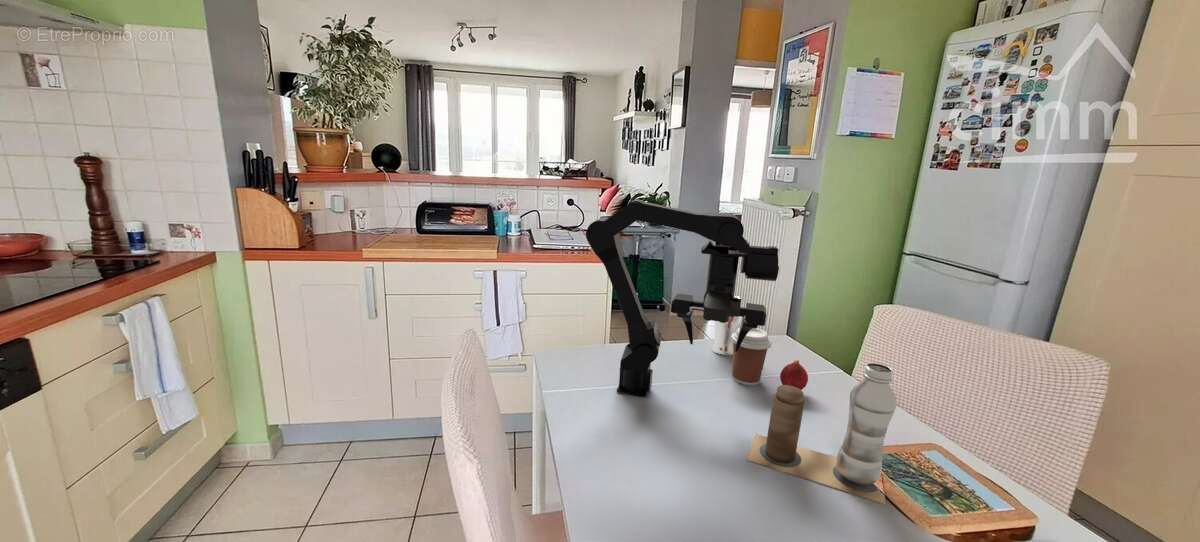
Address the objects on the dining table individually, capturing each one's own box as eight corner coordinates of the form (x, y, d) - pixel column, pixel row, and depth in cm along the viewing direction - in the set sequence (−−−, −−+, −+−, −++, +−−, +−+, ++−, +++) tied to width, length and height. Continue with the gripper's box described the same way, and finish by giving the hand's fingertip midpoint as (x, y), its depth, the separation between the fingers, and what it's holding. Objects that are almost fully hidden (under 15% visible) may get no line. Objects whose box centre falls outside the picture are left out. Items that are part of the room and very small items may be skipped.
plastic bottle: (826, 465, 81) (846, 358, 76) (862, 465, 82) (885, 359, 77) (848, 491, 75) (871, 377, 70) (887, 491, 76) (914, 377, 71)
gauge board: (746, 460, 82) (746, 459, 82) (755, 434, 90) (755, 433, 90) (885, 504, 73) (885, 503, 73) (881, 471, 81) (881, 470, 81)
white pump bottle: (737, 348, 130) (743, 296, 126) (735, 358, 124) (742, 304, 120) (711, 344, 132) (717, 293, 128) (708, 353, 126) (714, 300, 122)
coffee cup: (773, 387, 109) (780, 339, 106) (736, 388, 107) (742, 339, 104) (754, 369, 117) (761, 324, 114) (720, 370, 116) (725, 325, 113)
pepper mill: (772, 463, 81) (783, 398, 78) (760, 446, 86) (769, 383, 83) (800, 463, 81) (811, 398, 78) (786, 445, 86) (796, 383, 83)
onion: (807, 400, 103) (813, 367, 101) (780, 397, 104) (785, 363, 103) (802, 388, 109) (807, 356, 107) (776, 384, 110) (781, 353, 108)
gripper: (669, 279, 91) (662, 354, 94) (771, 292, 85) (760, 371, 89) (678, 267, 101) (672, 335, 105) (769, 278, 96) (759, 349, 99)
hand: (713, 347), depth 99 cm, fingers open, 9 cm apart
